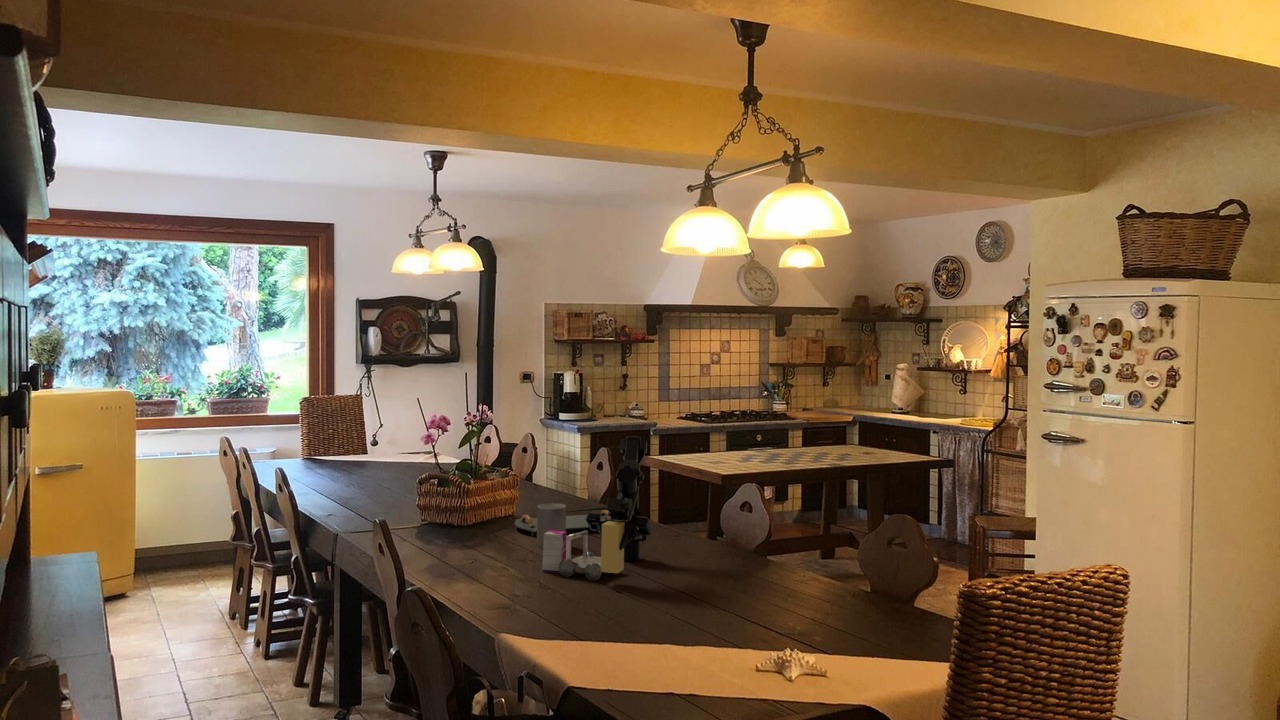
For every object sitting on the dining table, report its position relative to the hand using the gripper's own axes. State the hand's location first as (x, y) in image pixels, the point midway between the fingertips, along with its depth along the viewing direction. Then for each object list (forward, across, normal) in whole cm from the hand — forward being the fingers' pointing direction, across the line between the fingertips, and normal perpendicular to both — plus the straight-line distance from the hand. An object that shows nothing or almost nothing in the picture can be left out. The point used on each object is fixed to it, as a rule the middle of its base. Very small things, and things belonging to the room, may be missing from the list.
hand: (611, 548), depth 271 cm
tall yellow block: (+4, 0, +6) cm, 7 cm away
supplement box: (+1, -22, +14) cm, 26 cm away
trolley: (+1, -10, +14) cm, 17 cm away
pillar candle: (-20, -37, +36) cm, 55 cm away
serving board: (-41, -44, +57) cm, 83 cm away
